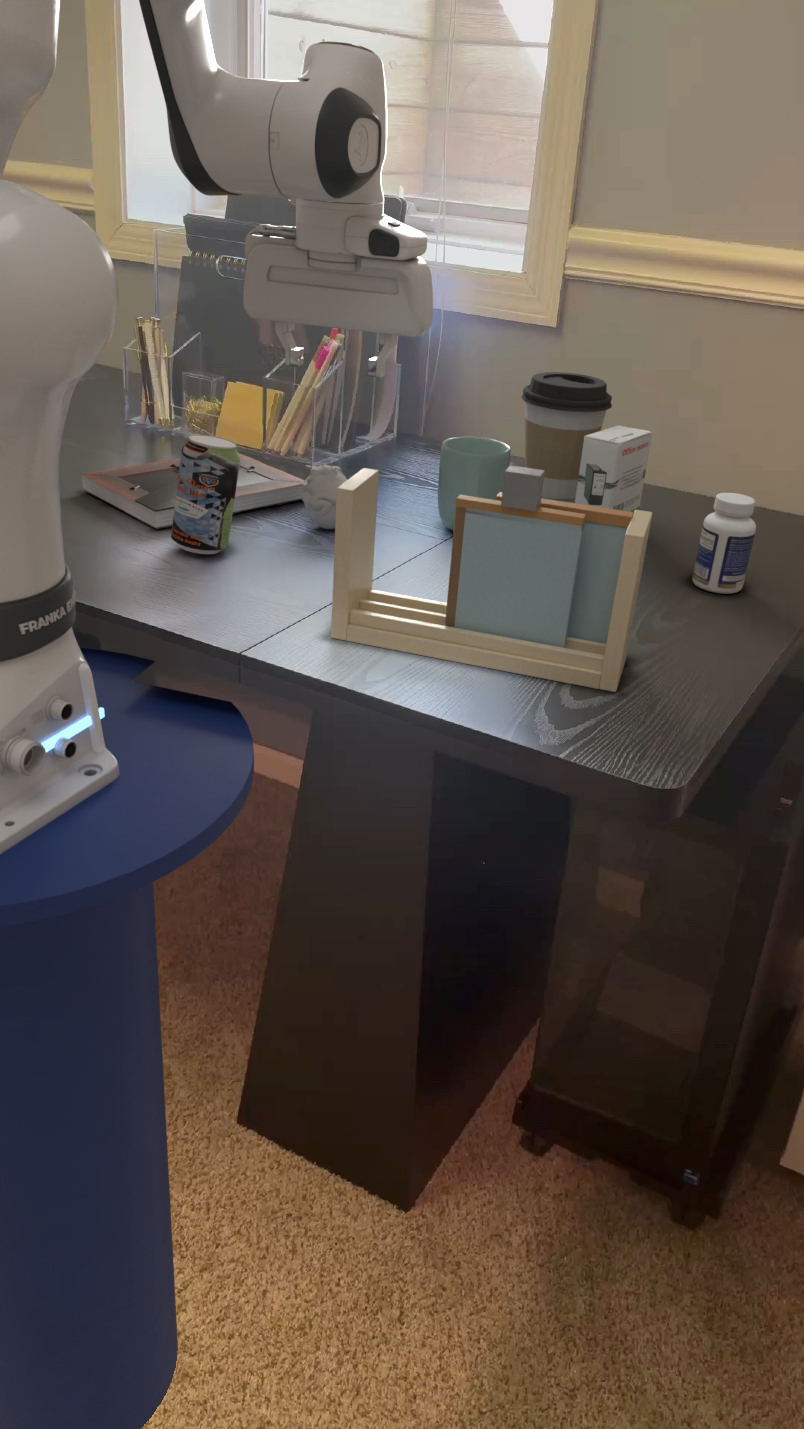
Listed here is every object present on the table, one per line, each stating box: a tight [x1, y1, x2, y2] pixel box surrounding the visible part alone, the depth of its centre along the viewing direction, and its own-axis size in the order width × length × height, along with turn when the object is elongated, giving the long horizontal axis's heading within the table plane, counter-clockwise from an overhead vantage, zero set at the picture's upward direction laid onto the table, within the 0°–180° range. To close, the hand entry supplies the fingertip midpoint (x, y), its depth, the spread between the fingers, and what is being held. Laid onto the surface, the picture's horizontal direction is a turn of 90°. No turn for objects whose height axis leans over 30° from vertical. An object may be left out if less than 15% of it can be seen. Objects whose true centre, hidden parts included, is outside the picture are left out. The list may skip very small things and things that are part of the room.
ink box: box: [575, 424, 653, 514], centre depth 129 cm, size 9×5×12 cm, turn 142°
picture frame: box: [81, 452, 306, 530], centre depth 132 cm, size 16×2×22 cm
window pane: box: [445, 465, 586, 648], centre depth 93 cm, size 2×11×16 cm, turn 73°
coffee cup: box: [520, 371, 613, 503], centre depth 138 cm, size 11×11×15 cm
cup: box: [437, 436, 511, 532], centre depth 126 cm, size 8×8×10 cm
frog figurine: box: [301, 464, 348, 530], centre depth 124 cm, size 6×7×7 cm
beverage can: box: [170, 434, 240, 555], centre depth 114 cm, size 6×7×12 cm
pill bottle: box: [691, 492, 757, 595], centre depth 115 cm, size 5×5×10 cm
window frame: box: [330, 467, 653, 693], centre depth 96 cm, size 7×26×14 cm, turn 73°
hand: (335, 370), depth 117 cm, fingers open, 8 cm apart
